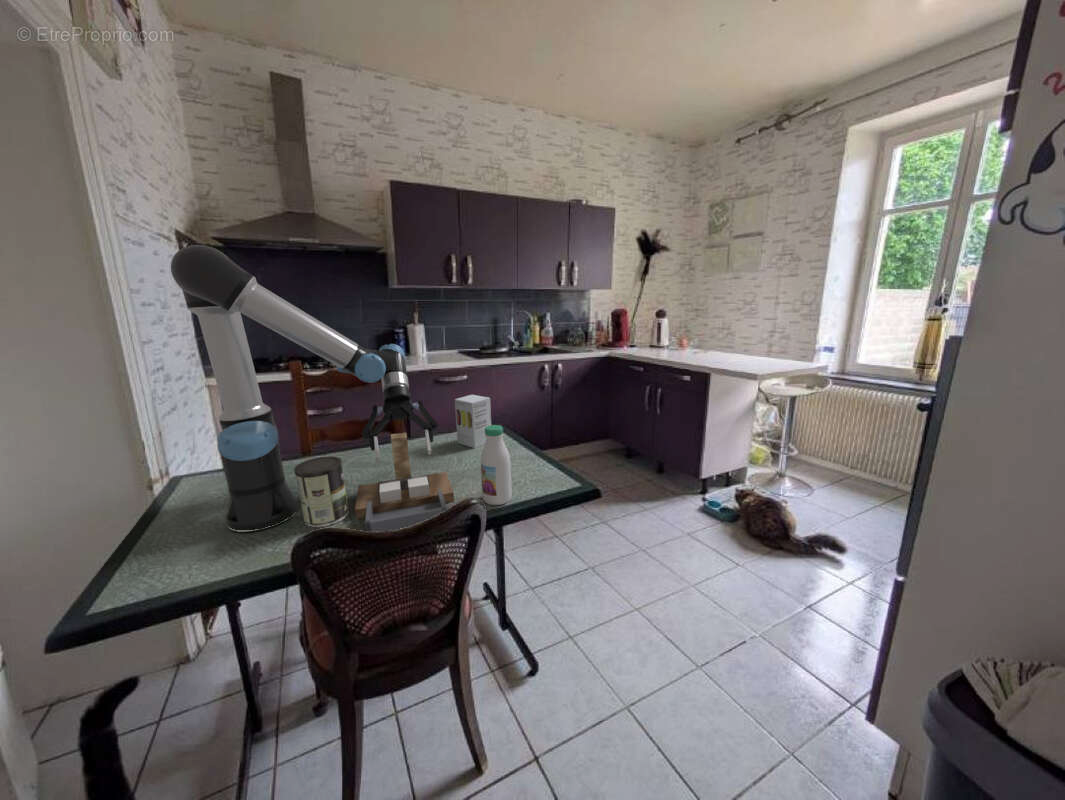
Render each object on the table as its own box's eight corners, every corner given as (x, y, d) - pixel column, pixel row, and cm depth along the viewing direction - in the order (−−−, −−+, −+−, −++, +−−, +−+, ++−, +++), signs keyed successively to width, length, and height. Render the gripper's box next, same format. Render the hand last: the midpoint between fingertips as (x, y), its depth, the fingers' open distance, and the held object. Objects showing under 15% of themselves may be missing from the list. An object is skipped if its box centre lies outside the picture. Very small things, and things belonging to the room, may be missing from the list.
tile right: (409, 498, 105) (408, 487, 104) (408, 489, 110) (407, 479, 109) (429, 494, 107) (428, 484, 106) (427, 486, 111) (426, 476, 111)
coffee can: (341, 502, 109) (333, 452, 106) (355, 516, 102) (347, 463, 99) (298, 516, 103) (288, 464, 99) (310, 533, 95) (300, 477, 92)
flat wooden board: (356, 518, 101) (354, 509, 100) (359, 493, 114) (358, 485, 113) (454, 501, 108) (453, 492, 108) (446, 479, 121) (446, 471, 121)
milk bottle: (506, 489, 114) (503, 421, 109) (515, 502, 107) (512, 429, 102) (479, 495, 111) (475, 425, 106) (487, 508, 104) (482, 434, 99)
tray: (367, 539, 92) (365, 523, 91) (369, 516, 102) (367, 501, 101) (448, 523, 98) (446, 508, 97) (442, 503, 107) (441, 489, 106)
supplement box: (456, 443, 150) (453, 399, 146) (474, 436, 158) (471, 393, 153) (475, 448, 145) (472, 402, 141) (493, 441, 152) (490, 397, 148)
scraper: (379, 493, 108) (372, 443, 105) (379, 484, 113) (373, 436, 110) (429, 484, 112) (424, 436, 109) (427, 476, 117) (423, 430, 114)
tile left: (380, 503, 103) (379, 492, 102) (381, 494, 108) (379, 484, 107) (401, 499, 105) (400, 488, 104) (401, 491, 109) (399, 480, 108)
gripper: (438, 393, 129) (449, 454, 119) (352, 402, 121) (356, 469, 111) (439, 379, 123) (451, 443, 113) (348, 388, 115) (352, 457, 105)
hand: (404, 456), depth 112 cm, fingers open, 13 cm apart
